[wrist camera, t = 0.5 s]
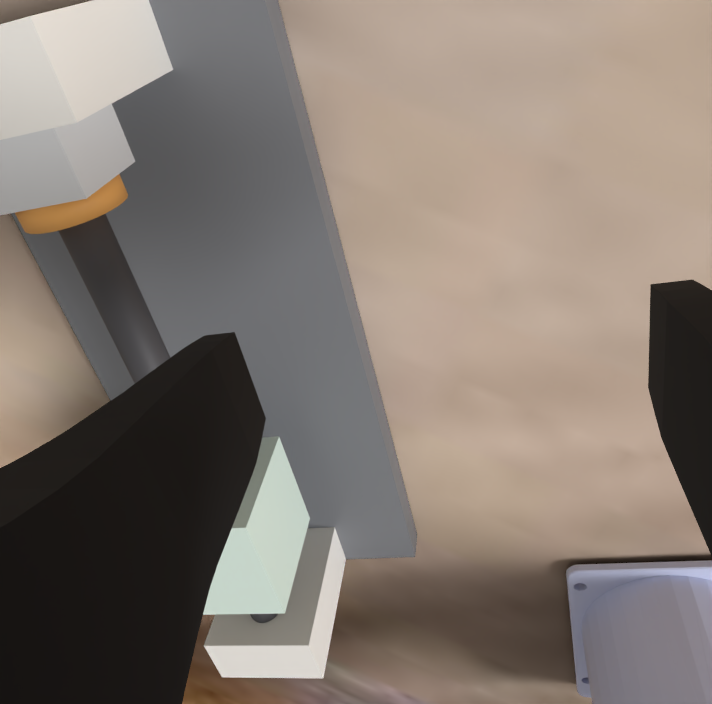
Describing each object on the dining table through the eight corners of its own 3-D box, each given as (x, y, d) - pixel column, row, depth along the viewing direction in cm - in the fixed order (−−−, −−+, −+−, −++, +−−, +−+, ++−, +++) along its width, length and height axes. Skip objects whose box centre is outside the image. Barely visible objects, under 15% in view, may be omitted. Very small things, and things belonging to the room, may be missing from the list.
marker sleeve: (310, 518, 24) (285, 613, 21) (211, 523, 25) (172, 615, 22) (279, 436, 22) (246, 527, 19) (173, 445, 23) (124, 533, 20)
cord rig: (417, 534, 28) (404, 679, 23) (206, 543, 31) (151, 676, 26) (265, -46, 17) (172, -24, 12) (-50, 41, 19) (-246, 92, 14)
